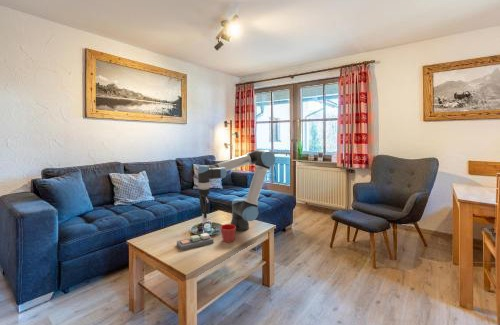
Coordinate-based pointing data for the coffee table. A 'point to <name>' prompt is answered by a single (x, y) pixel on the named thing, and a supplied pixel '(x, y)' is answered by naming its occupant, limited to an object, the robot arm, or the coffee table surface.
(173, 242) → the coffee table surface
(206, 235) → the key ivory
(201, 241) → the grey rectangular tray
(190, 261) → the coffee table surface
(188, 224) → the coffee table surface
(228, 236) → the flower pot
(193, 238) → the key sage
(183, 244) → the key terracotta
